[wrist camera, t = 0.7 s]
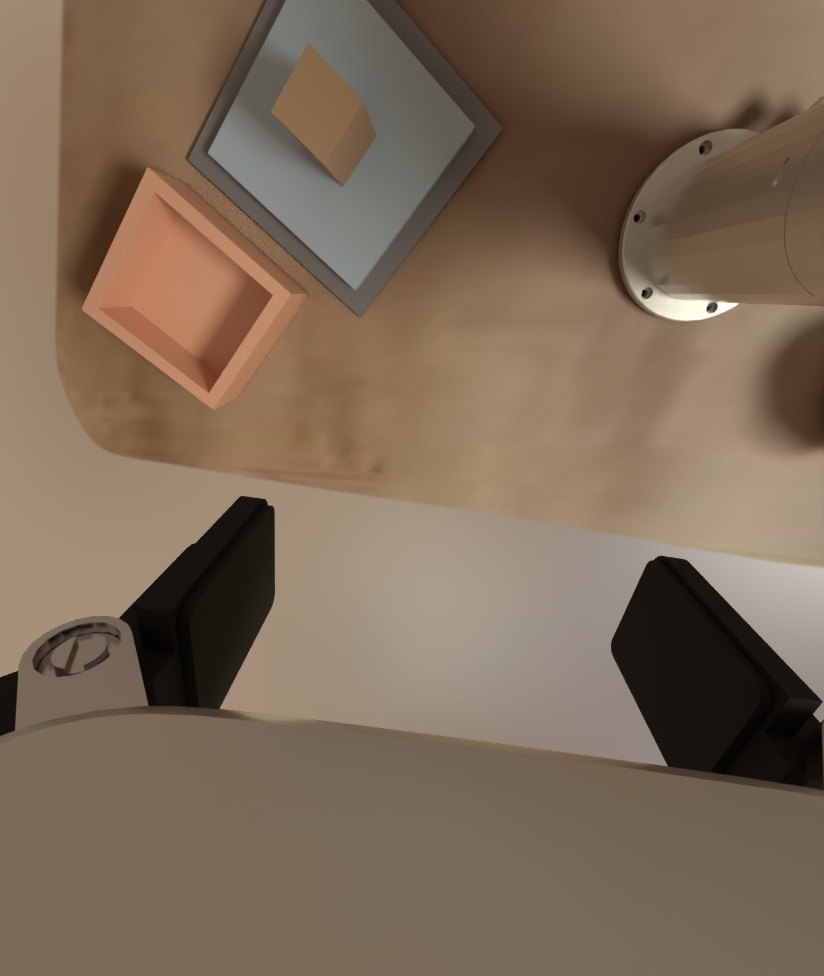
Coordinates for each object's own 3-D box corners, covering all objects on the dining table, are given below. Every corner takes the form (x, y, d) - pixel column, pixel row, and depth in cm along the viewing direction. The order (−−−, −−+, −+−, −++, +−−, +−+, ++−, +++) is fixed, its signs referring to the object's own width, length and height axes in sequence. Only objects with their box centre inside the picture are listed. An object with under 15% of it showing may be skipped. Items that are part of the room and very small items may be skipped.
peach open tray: (187, 183, 33) (147, 166, 29) (309, 293, 36) (291, 293, 32) (124, 307, 37) (81, 309, 33) (238, 396, 40) (213, 409, 36)
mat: (316, -91, 26) (314, -96, 26) (502, 129, 31) (503, 128, 30) (190, 161, 32) (187, 159, 32) (360, 316, 37) (359, 317, 36)
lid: (320, -47, 27) (284, -151, 21) (474, 130, 30) (483, 88, 24) (214, 156, 32) (159, 123, 26) (356, 290, 35) (339, 289, 29)
